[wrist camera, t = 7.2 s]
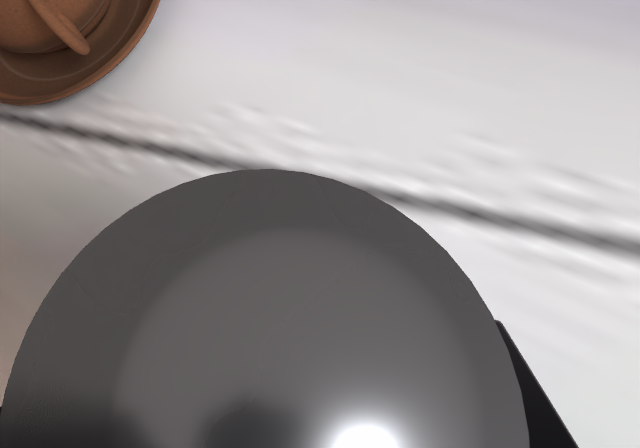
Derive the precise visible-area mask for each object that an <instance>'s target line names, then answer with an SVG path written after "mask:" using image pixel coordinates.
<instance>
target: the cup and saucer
mask: <svg viewBox="0 0 640 448" xmlns="http://www.w3.org/2000/svg"><path fill="white" fill-rule="evenodd" d="M159 2H160V0H0V103H5V104H12V105H35V104H41V103H47V102H51V101H54V100H58V99H61V98H64V97H66V96H69V95H71V94H74V93H76V92H78V91H80V90H82V89H84V88H86V87H88V86H89V85H91V84H93V83H95V82H96V81H98V80H99V79H101V78H102V77H103V76H105V75H106V74H107V73H109V72H110V71H111V70H112V69H114V68H115V67H116V66H117V65H118V64H119V63H120V62H121V61H122V60H123V59H124V58H125V57H126V56H127V55H128V54H129V53H130V52H131V51H132V49H133V48H134V47H135V46H136V44H137V43H138V42H139V40H140V39H141V37H142V36H143V34H144V33H145V31H146V30H147V28H148V26H149V24H150V22H151V20H152V19H153V16H154V14H155V12H156V10H157V8H158V5H159Z"/></svg>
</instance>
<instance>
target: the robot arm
mask: <svg viewBox="0 0 640 448" xmlns="http://www.w3.org/2000/svg"><path fill="white" fill-rule="evenodd" d="M494 321H495V323H496V325H497V327H498V329H499V331H500V334H501V336H502V338H503V340H504V342H505V344H506V347H507V349H508V351H509V354H510V357H511V361H512V364H513V367H514V370H515V373H516V377H517V380H518V383H519V386H520V389H521V393H522V399H523V405H524V410H525V416H526V421H527V427H528V432H529V448H579V447H578V445H577V444H576V442H575V441H574V439H573V437H572V436H571V434H570V432H569V431H568V429H567V428H566V426H565V424H564V423H563V421H562V419H561V418H560V416H559V415H558V413H557V411H556V410H555V408H554V407H553V405H552V403H551V402H550V400H549V398H548V397H547V395H546V394H545V392H544V390H543V389H542V387H541V386H540V384H539V382H538V381H537V379H536V377H535V376H534V374H533V373H532V371H531V369H530V368H529V366H528V364H527V363H526V361H525V360H524V358H523V356H522V355H521V353H520V352H519V350H518V348H517V347H516V345H515V343H514V342H513V340H512V339H511V337H510V335H509V334H508V332H507V330H506V329H505V327H504V326H503V324H502V323H501V322H500V321H498V320H494ZM1 409H2V406H1V407H0V414H1Z"/></svg>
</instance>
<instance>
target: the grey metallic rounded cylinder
mask: <svg viewBox="0 0 640 448" xmlns="http://www.w3.org/2000/svg"><path fill="white" fill-rule="evenodd" d="M0 448H529V432H528V427H527V421H526V416H525V410H524V405H523V399H522V393H521V389H520V386H519V383H518V380H517V377H516V373H515V370H514V367H513V364H512V361H511V357H510V354H509V351H508V349H507V347H506V344H505V342H504V340H503V338H502V336H501V334H500V331H499V329H498V327H497V325H496V323H495V321H494V318H493V316H492V314H491V312H490V311H489V309H488V308H487V306H486V304H485V303H484V301H483V300H482V298H481V296H480V295H479V293H478V292H477V290H476V288H475V287H474V285H473V283H472V282H471V280H470V279H469V278H468V277H467V275H466V274H465V273H464V272H463V271H462V269H461V268H460V267H459V266H458V264H457V263H456V262H455V261H454V260H453V258H452V257H451V256H450V255H449V253H448V252H447V251H446V250H445V249H444V248H443V247H442V246H440V245H439V244H438V243H437V242H436V241H435V240H434V239H433V238H432V237H431V236H430V235H429V234H428V233H427V232H426V231H425V230H424V229H422V228H421V227H420V226H419V225H417V224H416V223H415V222H413V221H412V220H411V219H409V218H408V217H406V216H405V215H404V214H402V213H401V212H399V211H398V210H397V209H395V208H394V207H392V206H391V205H389V204H387V203H385V202H383V201H381V200H379V199H378V198H376V197H374V196H372V195H370V194H368V193H367V192H365V191H363V190H360V189H357V188H355V187H352V186H349V185H347V184H344V183H341V182H339V181H336V180H334V179H329V178H325V177H321V176H317V175H312V174H308V173H304V172H295V171H285V170H275V169H261V170H239V171H233V172H227V173H220V174H214V175H210V176H206V177H203V178H200V179H196V180H193V181H189V182H186V183H183V184H180V185H178V186H176V187H173V188H171V189H169V190H166V191H164V192H162V193H159V194H157V195H155V196H153V197H152V198H150V199H148V200H146V201H145V202H143V203H141V204H139V205H138V206H136V207H134V208H133V209H131V210H129V211H128V212H127V213H125V214H124V215H122V216H121V217H120V218H118V219H117V220H116V221H114V222H113V223H112V224H110V225H109V226H108V227H106V228H105V229H104V230H103V231H102V232H101V233H100V234H99V235H98V236H96V237H95V238H94V239H93V240H92V241H91V242H90V243H89V244H88V245H87V246H86V247H85V248H84V249H83V250H82V251H81V252H80V253H79V254H78V255H77V256H76V258H75V259H74V260H73V261H72V262H71V263H70V265H69V266H68V267H67V268H66V269H65V270H64V272H63V273H62V274H61V275H60V277H59V278H58V280H57V281H56V283H55V284H54V286H53V287H52V288H51V290H50V291H49V293H48V294H47V296H46V297H45V299H44V300H43V302H42V304H41V306H40V307H39V309H38V311H37V313H36V315H35V317H34V318H33V320H32V322H31V324H30V326H29V327H28V330H27V332H26V334H25V337H24V339H23V341H22V344H21V346H20V349H19V351H18V353H17V356H16V358H15V361H14V364H13V367H12V371H11V374H10V377H9V380H8V384H7V387H6V390H5V394H4V399H3V404H2V409H1V414H0Z"/></svg>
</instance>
